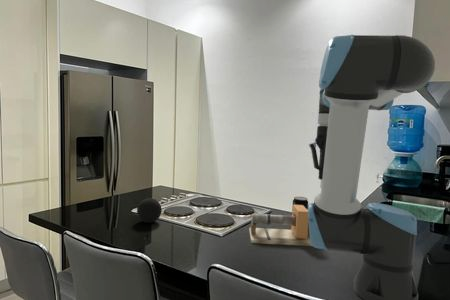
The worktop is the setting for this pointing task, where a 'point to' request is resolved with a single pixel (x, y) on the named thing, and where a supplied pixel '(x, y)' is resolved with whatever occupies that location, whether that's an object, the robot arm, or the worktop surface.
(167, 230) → the worktop surface
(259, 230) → the pipe board
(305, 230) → the collar
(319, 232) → the robot arm
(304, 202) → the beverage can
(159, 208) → the speaker
